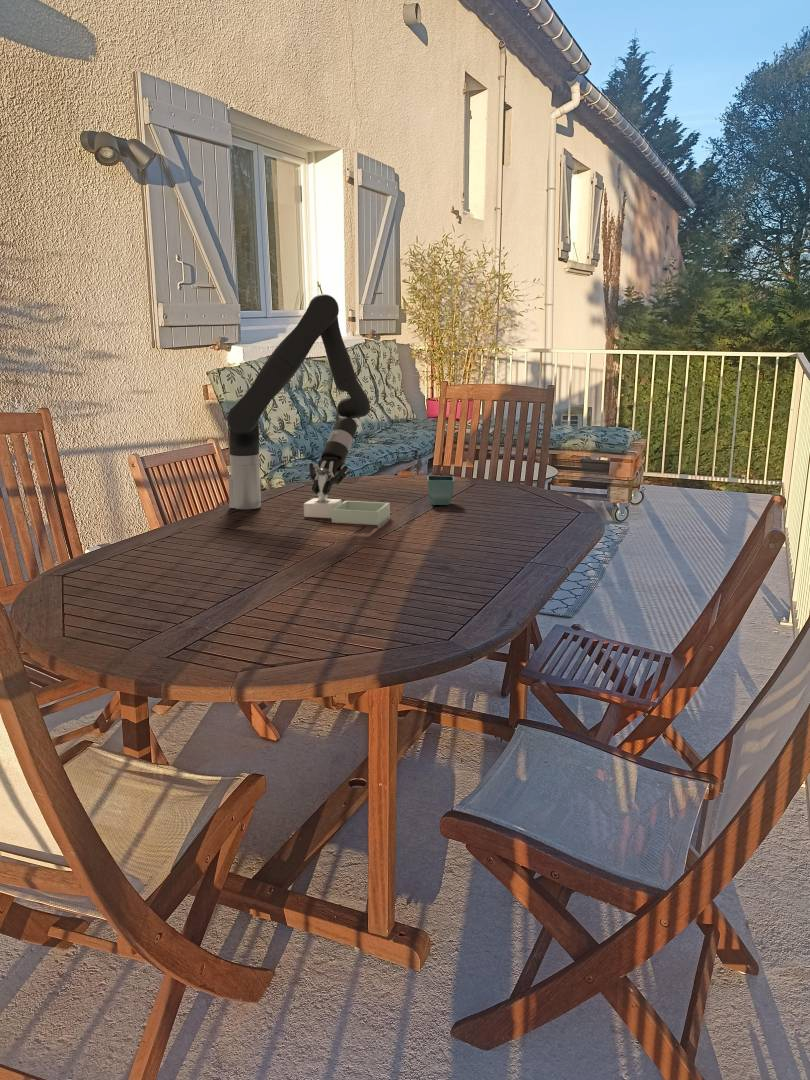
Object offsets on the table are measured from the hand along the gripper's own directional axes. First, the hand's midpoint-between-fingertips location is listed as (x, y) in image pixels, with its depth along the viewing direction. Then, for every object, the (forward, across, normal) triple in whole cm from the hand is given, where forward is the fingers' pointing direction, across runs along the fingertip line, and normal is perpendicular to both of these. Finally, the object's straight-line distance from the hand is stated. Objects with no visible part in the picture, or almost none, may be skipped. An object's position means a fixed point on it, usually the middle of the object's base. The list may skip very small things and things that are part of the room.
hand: (319, 492), depth 253 cm
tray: (+5, +13, +7) cm, 16 cm away
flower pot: (-19, +26, +31) cm, 45 cm away
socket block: (+4, 0, +7) cm, 8 cm away
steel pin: (+4, 0, +6) cm, 7 cm away
